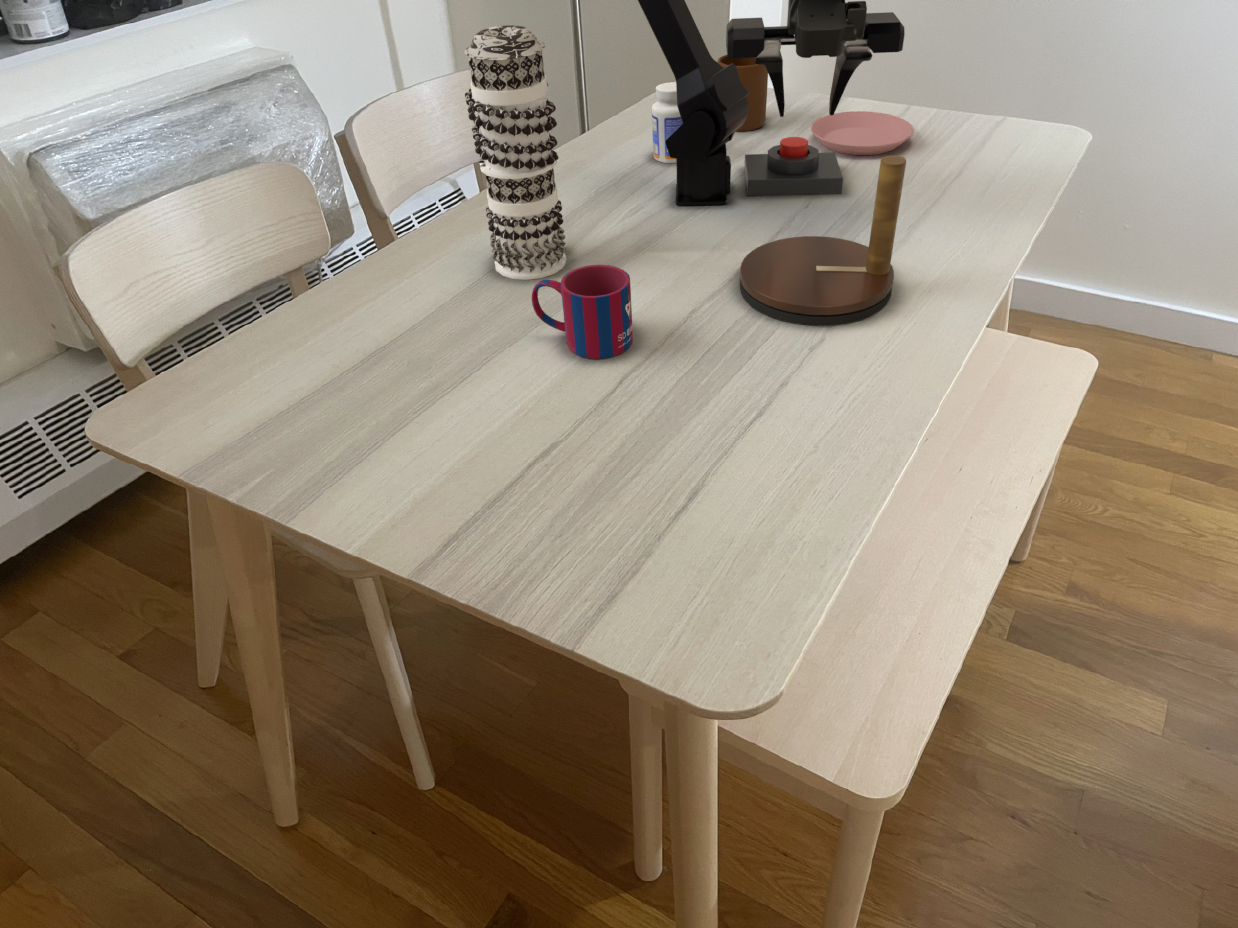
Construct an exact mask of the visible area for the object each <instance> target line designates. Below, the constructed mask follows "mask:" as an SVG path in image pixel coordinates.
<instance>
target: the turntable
mask: <svg viewBox="0 0 1238 928" xmlns="http://www.w3.org/2000/svg"><path fill="white" fill-rule="evenodd" d="M879 162H880V163H879V168H878V169H879V170H878V175H877V177H878V178H877V184H876V191H875V198H874V199H875V200H874V206H873V213H872V219H871V220H872V221H871V227H870V236H869V242H868V246H867V245H865V244H862V243H859V242H856V241H852V240H848V239H844V238H839V237H831V236H819V235H818V236H817V235H807V236H806V235H805V236H793V237H786V238H781V239H776V240H772V241H770V242H767V243H764V244H762V245H760V246H758V247H756V248H754V249H752V250H751V251H750V252H748V254H747V255H746V256H745V257H744V258H743V259H742V262H741V264H740V269H739V270H740V271H739V272H740V273H739V281H740V280H741V283H742V285H743V287H744V289H745V290H746V291H747V292H748V293H749V294H750V295H751V296H752V297H754V298H755V299H757V300H758V301H760V302H762V303H764V304H766V305H768V306H771V307H774V308H776V309H780V310H784V311H788V312H793V313H799V314H806V315H838V314H845V313H851V312H855V311H859V310H862V309H866V308H868V307H870V306H873V305H875V304H876V303H878V302H880V301H881V300H882V299H884V298H885V297H886V296H887V295H888V294H889V292H890V290H891V289H892V290H893V286H894V279H895V271H894V267H893V265H892V256H893V249H894V243H895V237H896V230H897V223H898V217H899V210H900V206H901V205H900V204H901V197H902V193H903V185H904V179H905V172H906V166H907V159H906V158H905V157H903V156H900V155H891V154H890V155H884V156H883V157H881V158H880V161H879Z"/></svg>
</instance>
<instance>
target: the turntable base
mask: <svg viewBox="0 0 1238 928" xmlns="http://www.w3.org/2000/svg"><path fill="white" fill-rule="evenodd" d="M739 291H740V294H741V296H742V299H743V300H744V301H745V302H746V303H747V304H748V305H749V306H750V307H751V308H753V309H754V310H756V311H757V312H759V313H761V314H762V315H764V316H766V317H770V318H772V319H775V320H778V321H781V322H785V323H789V324H795V325H801V326H802V325H803V326H815V327H816V326H817V327H828V326H829V327H830V326H837V325H838V326H839V325H846V324H851V323H855V322H860V321H863V320H865V319H867V318H870V317H872V316H874V315H876V314H878V313H879V312H880V311H882V310H883V309H884V308H885V307H886V306H887V305H888V303H889V302H890V299H891V297H892V292H893V288H892V289H891V290H890V292H889V294H888V295H887V296H886V297H885V298H884V299H882V300H881V301H880V302H878V303H876V304H875V305H873V306H870V307H868V308H866V309H862V310H859V311H855V312H851V313H845V314H838V315H806V314H799V313H793V312H788V311H784V310H780V309H776V308H774V307H771V306H768V305H766V304H764V303H762V302H760V301H758V300H757V299H755V298H754V297H752V296H751V295H750V294H749V293H748V292H747V291H746V290H745V289H744V287H743V285H742V283H741V280H740V279H739Z"/></svg>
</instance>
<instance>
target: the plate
mask: <svg viewBox="0 0 1238 928" xmlns="http://www.w3.org/2000/svg"><path fill="white" fill-rule="evenodd" d="M810 132H811V133H812V135H813V136H814V137H815V138H816V139H817V140H818V141H819V142H820V143H821V144H822V145H823V146H824V147H825V148H827V149H828V150H831V151H832V152H836V153H840V154H844V155H850V156H872V155H873V156H874V155H881V154H885V153H888V152H891V151H893V150H895V149H897V148H898V147H899V146H901V145H902V144H903V143H905V142H907V140H909V139H910V138H911V137H912V136H913V135H914V132H915V129H914V126H913V125H912V123H910V122H909V121H908V120H906V119H904V118H902V117H899V116H897V115H893V114H890V113H883V112H879V111H868V110H867V111H863V110H862V111H861V110H858V111H855V110H854V111H841V112H835V113H834V115H830V114H827V115H824V116H821V117H819V118H818V119H816V120H814V121H813V122H812V123H811V126H810Z"/></svg>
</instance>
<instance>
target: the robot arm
mask: <svg viewBox="0 0 1238 928" xmlns="http://www.w3.org/2000/svg"><path fill="white" fill-rule="evenodd" d="M637 1H638V4H639V6H640V8H641V10H642V12H643V15H644V16H645V18H646V20H647V22H648V25H649V27H650V29H651V31H652V33H653V35H654V37H655V39H656V41H657V43H658V45H659V47H660V49H661V52H662V53H663V55H664V57H665V59H666V61H667V64H668V65H669V68H670V70H671V72H672V74H673V76H674V80H675V82H676V91H677V107H678V110H679V113H680V116H681V120H682V123H683V124H682V125H681V126H680V127H679V128H678V129H677V130H676V131H675V132H674V133H673V134H672V135H671V136H670V137H669V138H668V139H667V140H666V142H665V143H666V146H667V149H668V152H669V156H670V157H671V158H676V163H675V165H676V184H675V206H681V207H682V206H720V205H721V206H723V205H727V202H728V199H727V198H728V197H727V196H729V195H730V194H731V181H732V180H731V175H732V174H731V173H732V162H731V161H732V160H731V159H732V158H731V157H730V155H727V153H728V152H727V143H728V142H731V141H732V140H733V138H734V136H735V133H736V130H737V129H739V128H740V127H741V126H742V125H743V123H744V122H745V120H746V117H747V113H748V111H749V107H748V102H747V99H746V96H747V95H748V94H749V91H748V90H747V89H746V88H745V87H744V86H743V84H742V83H741V80H740V77H739V74H738V71H737V68H736V66H735V65H734V63H731V64H730V65H728V66H727V67H725V68H723V67H722V66H721V65H720V64H718V63H717V61H716V60H715V59H714V58H713V57H712V55H711V54H710V51H709V49H708V47H707V45H706V43H705V41H704V38H703V37H702V36H703V35H702V34H701V32H700V30H699V28H698V26H697V24H696V22H695V20H694V19H695V18H694V17H693V15H692V13H691V11H690V9H689V7H688V4H687V3H686V0H637ZM787 3H788V4H787V19H786V21H787V22H786V25H781V26H780V25H779V26H765V23H764V20H763V17H741V18H740V17H739V18H731V19H730V20H729V22H727V24H726V29H725V31H726V35H725V38H726V39H725V46H726V55H727V57H730V58H752V57H754V59H755V63H756V64H758V65H765V67H766V69H767V71H768V77H769V79H770V82H771V84H772V88H773V91H774V96H775V100H776V105H777V109H778V113H779V117H780V118H784V117H785V108H786V107H785V104H786V103H785V102H786V101H785V87H784V85H785V84H784V59H783V56H782V52H781V49H782V46H795V52H796V55H797V56H798V57H799V58H803V59H811V58H812V57H821V56H828V57H829V58H836V59H835V64H834V71H833V75H832V76H833V77H832V83H831V87H830V94H829V103H828V115H834V114H835V113H836V110H837V108H838V106H839V103H840V102H841V99H842V97H843V95H844V92H845V90H846V88H847V86H848V83H849V81H850V79H851V78H852V76H853V74H854V72H855V71H856V69H858V68H859V66H860V65H861V64H862V63H863V62H869V61H871V60H872V58H873V54H885V53H900V52H902V51H903V50H904V49H903V47H904V42H905V35H906V34H905V26H904V24H903V23H902V22H901V20H900V19H899V18H898V17H897V15H896V13H894V12H893V11H891V12H889V11H888V12H887V11H886V12H868V6H867V1H866V0H855V1H847V2H846V0H788V2H787Z"/></svg>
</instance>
